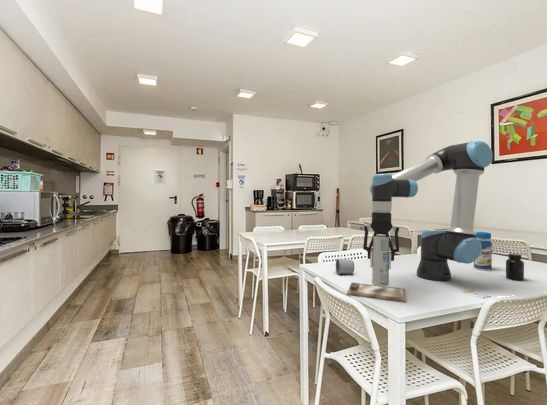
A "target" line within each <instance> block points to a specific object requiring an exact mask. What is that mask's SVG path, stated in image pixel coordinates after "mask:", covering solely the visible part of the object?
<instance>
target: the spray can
mask: <svg viewBox="0 0 547 405" xmlns="http://www.w3.org/2000/svg"><path fill="white" fill-rule="evenodd" d="M372 237H373V246H372V251H373V266H372V274H371V275H372V278H371V279H372V280H371V281H372V285H375V286H381V287H389V283H390V282H389V280H390V279H389V275H390V272H389V271H390V269H389V252H390V247H389V237H386V236H385V235H382V234H379V235H378V234H377V235H376V236H373V235H372Z"/></svg>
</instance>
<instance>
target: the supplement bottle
mask: <svg viewBox="0 0 547 405" xmlns="http://www.w3.org/2000/svg"><path fill="white" fill-rule="evenodd" d="M505 278H506V279H507V280H510V281H517V282H521V281H524V279H525V261H523V260H522V254H519V253H508V259H506V261H505Z"/></svg>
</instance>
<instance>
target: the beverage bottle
mask: <svg viewBox="0 0 547 405" xmlns="http://www.w3.org/2000/svg"><path fill="white" fill-rule="evenodd" d="M475 233H476V239H478V240H479V241H480V244H481V245H482V251H481V254H480V256H479V257H478V259H476V260H475V261H474V262H473V268H474V269H475V270H478V271H479V270H480V271H492V269H493V268H492V264H493V262H492V261H493V260H492V259H493V253H494V252H493V243H492V241H491V239H492V233H491V232H486V231H485V232H484V231H475Z"/></svg>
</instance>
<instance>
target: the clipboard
mask: <svg viewBox="0 0 547 405" xmlns="http://www.w3.org/2000/svg"><path fill="white" fill-rule="evenodd" d="M346 296H352V297H361V298H367V299H369V298H370V299H376V300H383V301H384V300H385V301H392V302H399V303H407V295H406V288H402V287H392V286H386V287H381V286H375V285H373V284H366V283H359V282H351V283H350V286H349V287H348V290H347V292H346Z"/></svg>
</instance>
